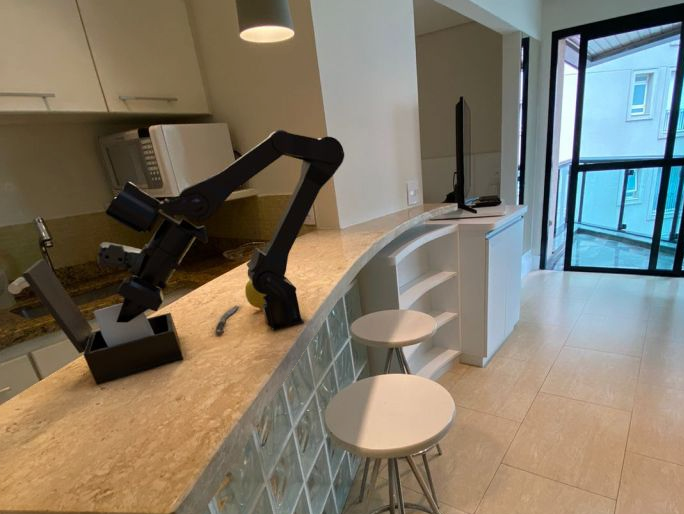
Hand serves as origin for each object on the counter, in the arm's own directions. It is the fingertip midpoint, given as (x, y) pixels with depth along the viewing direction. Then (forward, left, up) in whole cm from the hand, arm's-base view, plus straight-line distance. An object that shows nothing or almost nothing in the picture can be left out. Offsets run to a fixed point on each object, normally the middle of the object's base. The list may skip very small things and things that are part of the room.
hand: (119, 322), depth 72 cm
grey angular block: (-1, 0, -7) cm, 7 cm away
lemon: (-26, -10, -8) cm, 29 cm away
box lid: (+6, 0, +5) cm, 8 cm away
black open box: (-1, 0, -8) cm, 8 cm away
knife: (-18, -9, -8) cm, 22 cm away
